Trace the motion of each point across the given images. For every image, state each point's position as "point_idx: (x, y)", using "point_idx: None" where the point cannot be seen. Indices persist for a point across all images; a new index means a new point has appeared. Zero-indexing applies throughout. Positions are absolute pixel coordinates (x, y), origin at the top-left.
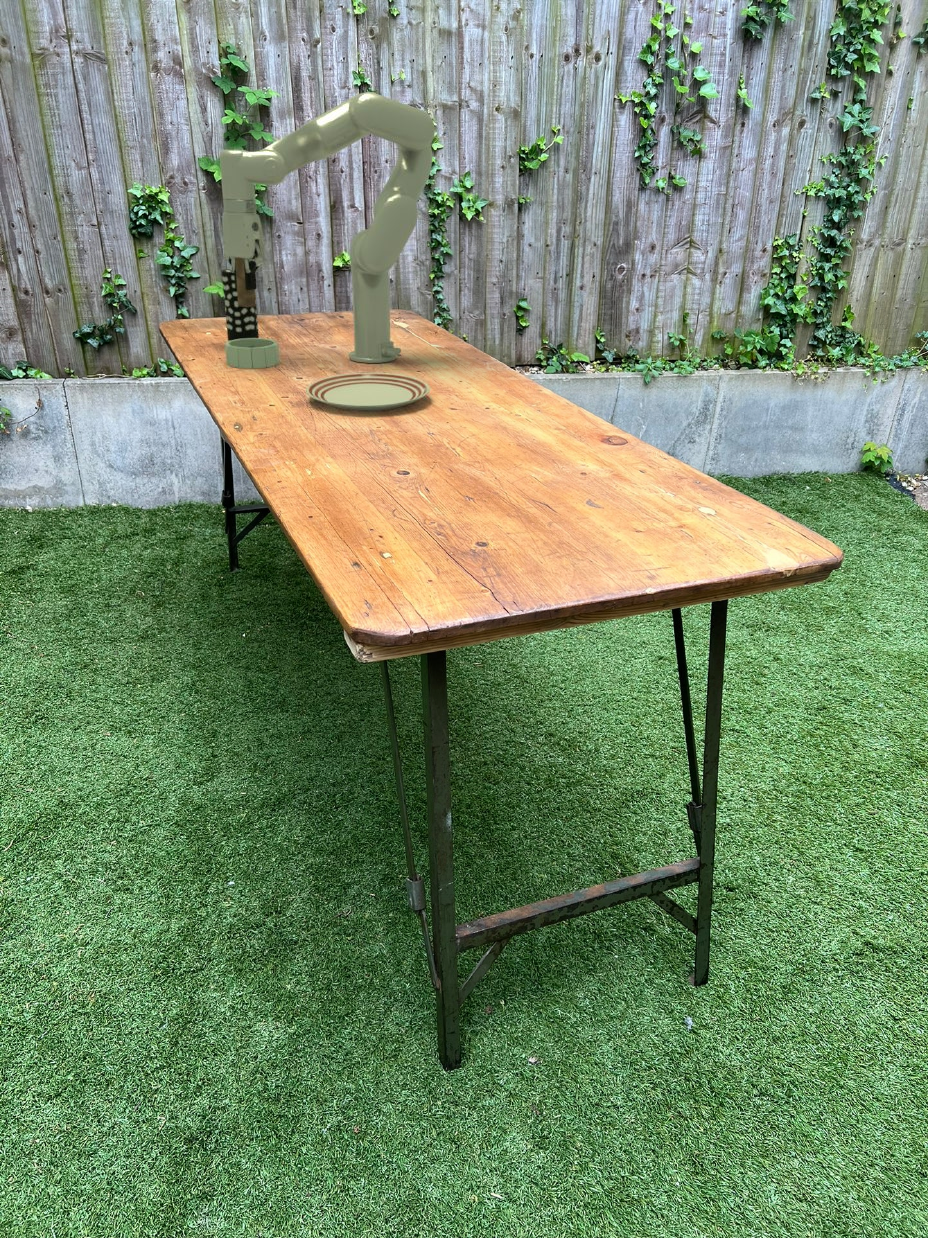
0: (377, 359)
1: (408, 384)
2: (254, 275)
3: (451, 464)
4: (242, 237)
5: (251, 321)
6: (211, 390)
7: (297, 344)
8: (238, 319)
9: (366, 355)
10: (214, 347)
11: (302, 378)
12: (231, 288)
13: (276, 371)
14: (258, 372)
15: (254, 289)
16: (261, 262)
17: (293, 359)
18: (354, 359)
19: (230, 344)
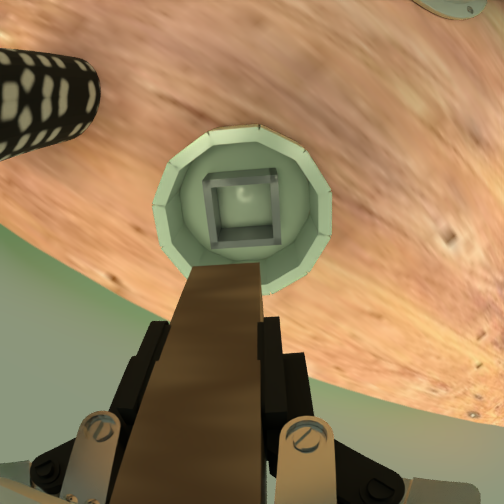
0: (483, 9)
1: None
2: (313, 412)
3: None
4: None
5: (53, 90)
6: (365, 388)
7: None
8: (34, 137)
9: (464, 3)
10: (26, 162)
11: (454, 233)
12: None
13: (369, 225)
14: (342, 261)
15: (259, 314)
16: (455, 495)
17: (294, 84)
18: (438, 14)
19: (186, 256)
